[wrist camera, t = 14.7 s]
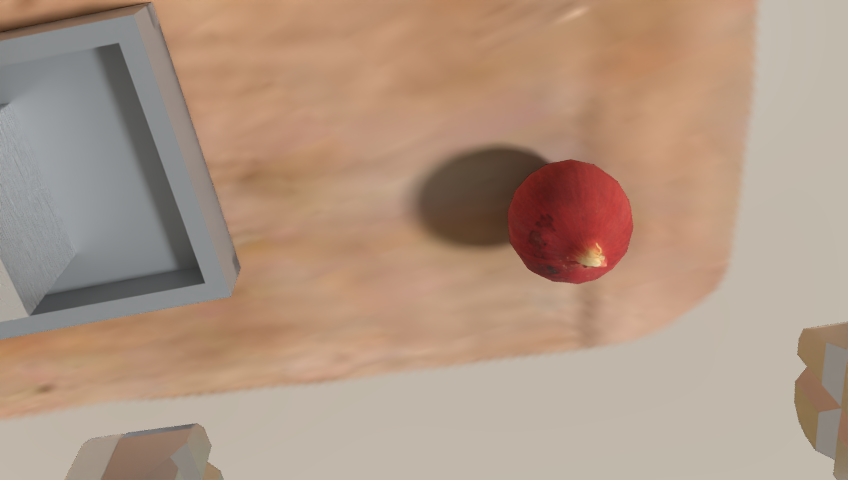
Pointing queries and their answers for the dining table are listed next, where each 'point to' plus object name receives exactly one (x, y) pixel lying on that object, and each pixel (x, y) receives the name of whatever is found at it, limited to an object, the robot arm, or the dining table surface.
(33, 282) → the block
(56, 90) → the tray
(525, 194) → the onion
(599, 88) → the dining table surface
